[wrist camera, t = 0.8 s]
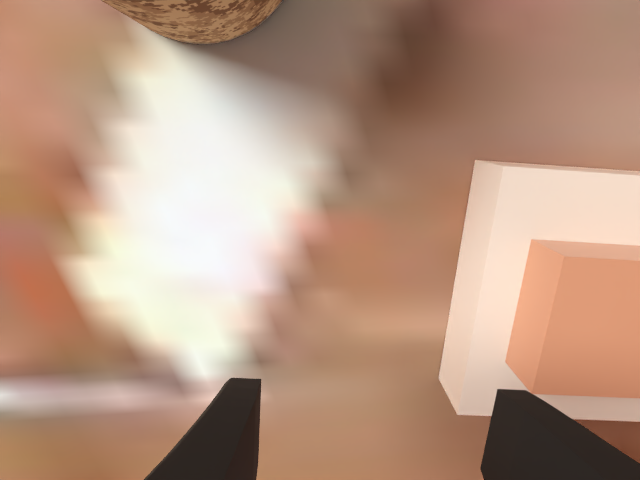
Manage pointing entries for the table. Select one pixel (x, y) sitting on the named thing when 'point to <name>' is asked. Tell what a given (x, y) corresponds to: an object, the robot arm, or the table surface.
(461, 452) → the table surface
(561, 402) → the board
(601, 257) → the tile
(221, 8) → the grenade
